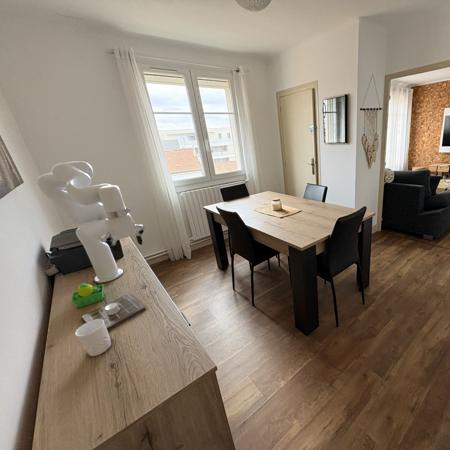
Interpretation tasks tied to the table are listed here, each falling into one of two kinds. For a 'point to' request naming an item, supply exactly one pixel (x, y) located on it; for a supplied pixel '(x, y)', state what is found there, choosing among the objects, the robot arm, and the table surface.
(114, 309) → the white round puck
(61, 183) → the robot arm
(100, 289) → the fruit basket
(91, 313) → the board
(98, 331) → the white cup
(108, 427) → the table surface
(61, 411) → the table surface
